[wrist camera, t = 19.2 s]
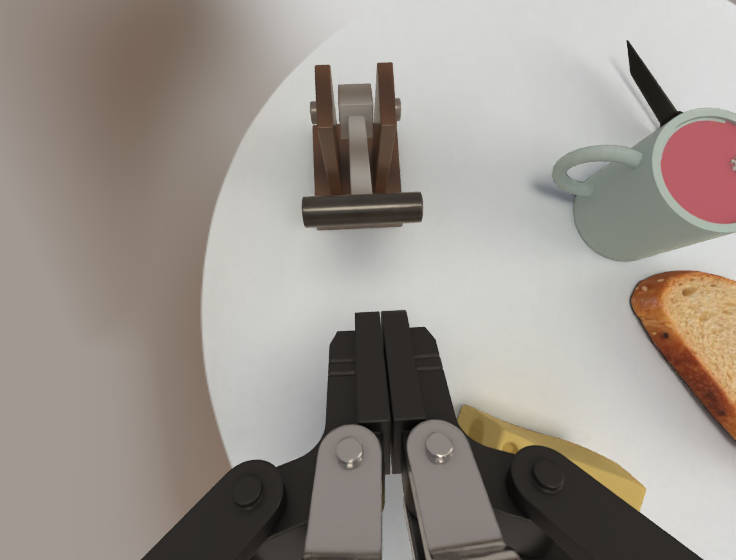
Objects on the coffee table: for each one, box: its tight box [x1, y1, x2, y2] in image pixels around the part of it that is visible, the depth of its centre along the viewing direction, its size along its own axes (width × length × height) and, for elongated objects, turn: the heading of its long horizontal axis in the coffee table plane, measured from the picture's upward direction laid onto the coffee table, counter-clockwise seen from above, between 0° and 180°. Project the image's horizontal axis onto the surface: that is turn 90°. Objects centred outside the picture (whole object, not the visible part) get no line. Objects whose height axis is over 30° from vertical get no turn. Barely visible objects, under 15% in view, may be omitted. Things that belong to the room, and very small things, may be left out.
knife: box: [627, 40, 683, 128], centre depth 37 cm, size 17×1×3 cm, turn 28°
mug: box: [552, 108, 736, 261], centre depth 32 cm, size 14×9×10 cm
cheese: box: [457, 405, 646, 512], centre depth 28 cm, size 10×11×10 cm
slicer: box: [310, 62, 403, 230], centre depth 30 cm, size 10×8×13 cm
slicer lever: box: [302, 84, 423, 228], centre depth 23 cm, size 12×6×2 cm, turn 3°
